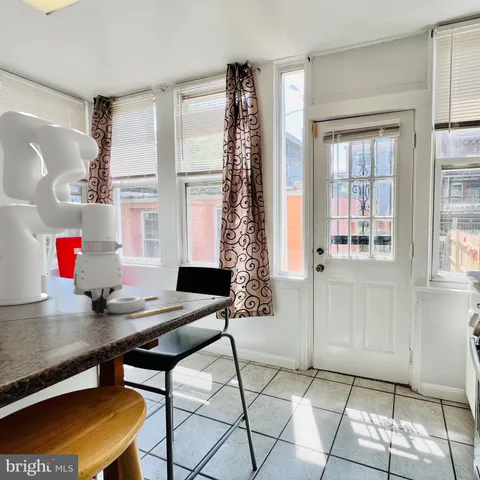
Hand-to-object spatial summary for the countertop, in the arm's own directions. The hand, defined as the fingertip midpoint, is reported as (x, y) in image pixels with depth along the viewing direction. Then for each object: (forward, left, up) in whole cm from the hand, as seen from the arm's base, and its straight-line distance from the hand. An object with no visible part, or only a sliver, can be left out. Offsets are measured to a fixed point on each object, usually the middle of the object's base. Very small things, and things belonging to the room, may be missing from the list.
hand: (99, 312), depth 76 cm
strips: (0, +12, -1) cm, 12 cm away
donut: (0, +7, -1) cm, 7 cm away
